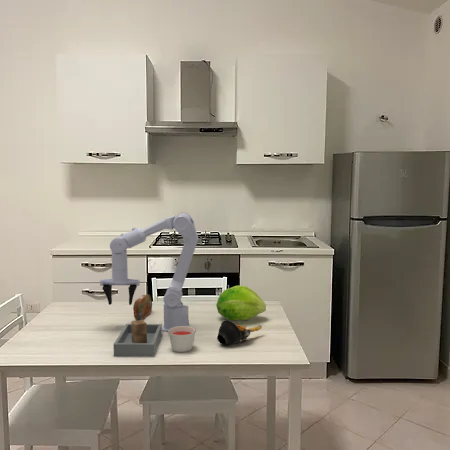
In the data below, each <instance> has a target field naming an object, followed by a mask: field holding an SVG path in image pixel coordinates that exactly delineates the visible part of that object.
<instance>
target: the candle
mask: <svg viewBox="0 0 450 450" xmlns="http://www.w3.org/2000/svg"><path fill="white" fill-rule="evenodd" d="M195 335H196V329H195V328H194V327H192V326H189V325H188V326H177V327H173V328H171V329H169V331H168V336H169V340H170V346H171V350H172V351H173V352H177V353H178V352H179V353H185V352H190V351H191V350H192V349H193V345H194V340H195Z"/></svg>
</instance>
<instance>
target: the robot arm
mask: <svg viewBox="0 0 450 450" xmlns="http://www.w3.org/2000/svg"><path fill="white" fill-rule="evenodd" d="M174 229H175V231H176V232H178V233H179V234H180V235H181V237H182V239H183V240H184V243H183V245H182V246H183V247H182V250H181V253H180V255H179V259H178V261H177V265H176V268H175V271H174V274H173V276H172V280H171V283H170V286H169V287H168V288H166V291H165V294H164V296H163V325H162V332H169V329H171V328H173V327H177V326H189V325H190V319H189V306H188V305H185V304H184V303H183V301H182V300H181V299H182V298H183V286H184V283H185V280H186V278H187V275H188V271H189V268H190V266H191V265H190V264H191V263H192V260H193V259H192V258H193V256H194V254H195V253H194V252H195V250H196V247H197V245H198V241H199V235H198V232H197V228H196V225H195V220H194V219H193V218H192V217H191V215H190V214H188V212H179V213H177V214H173V215H170V216H168V217H165V218H163V219H160V220H159V221H156V222H155V223H153V224H151V225H149V226H147V227H145V228H141V227H132V229H131V230H130V231H128V232H126V233H123V232H122V233H120V234H119V236H117V237H115V238H114V239H111V242H110V243H109V249H110V251H111V278H110V279H109V278H108V279H100V280H99V286H102V290H103V292H104V294H105V296H106V299H107V301H108V305H112V303H113V297H112V296H113V295H112V292H113V291H112V290H113V286H128V296H129V297H128V305H129V306H131V305H132V304H133V298H134V295H135V292H136V290H137V288H138V287H139V286H140V285H141V284H140V281H141V280H140V279H133V278H131V279H130V278H129V276H128V275H129V274H128V273H129V272H128V249H131V248H134V247H136V246H138V245H140V244H142V243H144V242H145V241H146V240H147V237H149V236H151V235H154V234H156V233H159V232H161V231H163V230H174Z"/></svg>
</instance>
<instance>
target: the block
mask: <svg viewBox="0 0 450 450" xmlns="http://www.w3.org/2000/svg"><path fill="white" fill-rule="evenodd" d="M130 324H131V325H132V342H133V343H147V324H148V323H147V322H146V321H144V320H134V321H133V320H132V321H131V323H130Z"/></svg>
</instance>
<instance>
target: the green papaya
mask: <svg viewBox="0 0 450 450" xmlns="http://www.w3.org/2000/svg"><path fill="white" fill-rule="evenodd" d="M215 307H216V309H217V312H218V314H219V315H221V317H223V318H225V320H229V321H240V322H241V321H248V320H250V319H252V318H254V317H256V316H258V315H259V314H262V313H265V312H266V310H267V304H266V303H265V302H264V300H263V299H262V298H261V297H260V295H258V294H257V292H255V291H254V290H253V289H251V288H249V286H246V285H235V286H232V287H229V288H226V289H224V290H223V291H222V292H221V294H219V296H218V299H217V302H216V304H215Z"/></svg>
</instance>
